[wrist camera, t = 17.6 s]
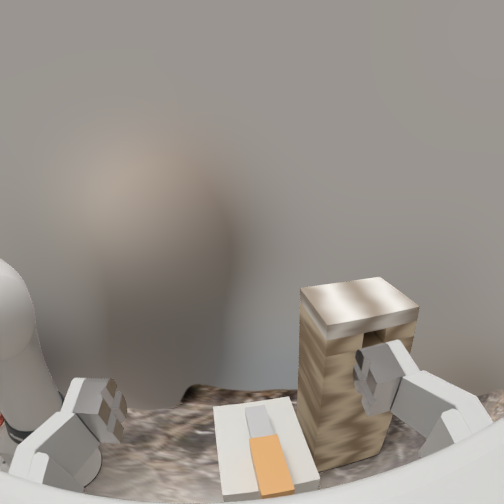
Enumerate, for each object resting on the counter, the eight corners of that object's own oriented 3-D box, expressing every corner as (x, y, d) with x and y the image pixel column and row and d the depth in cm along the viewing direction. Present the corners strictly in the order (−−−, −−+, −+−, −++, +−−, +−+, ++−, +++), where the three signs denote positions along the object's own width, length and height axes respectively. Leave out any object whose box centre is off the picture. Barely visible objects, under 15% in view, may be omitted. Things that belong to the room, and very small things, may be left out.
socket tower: (311, 473, 40) (327, 325, 32) (295, 431, 49) (300, 287, 41) (378, 453, 42) (419, 306, 33) (357, 416, 51) (379, 276, 43)
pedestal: (236, 539, 29) (222, 495, 24) (225, 468, 42) (213, 406, 37) (308, 527, 30) (320, 478, 26) (286, 459, 43) (288, 396, 39)
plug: (262, 508, 23) (261, 495, 22) (243, 420, 35) (241, 404, 34) (293, 502, 23) (294, 489, 22) (267, 417, 35) (267, 400, 34)
